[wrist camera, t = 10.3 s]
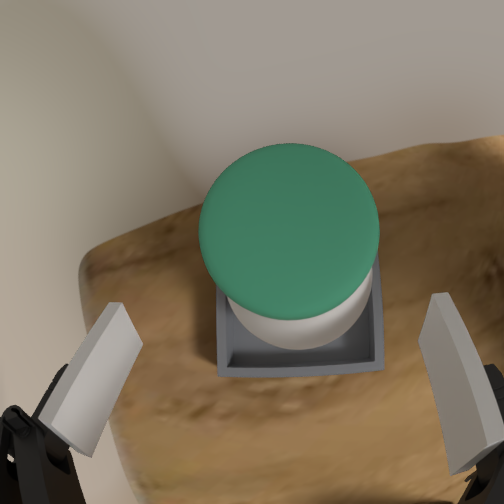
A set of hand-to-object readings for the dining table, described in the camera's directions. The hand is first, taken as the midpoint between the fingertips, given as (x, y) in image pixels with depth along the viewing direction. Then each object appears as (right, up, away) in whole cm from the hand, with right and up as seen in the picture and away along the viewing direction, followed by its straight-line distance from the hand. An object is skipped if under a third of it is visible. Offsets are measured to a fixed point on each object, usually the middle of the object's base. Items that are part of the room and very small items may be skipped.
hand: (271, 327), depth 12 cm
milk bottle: (+4, -1, +14) cm, 15 cm away
